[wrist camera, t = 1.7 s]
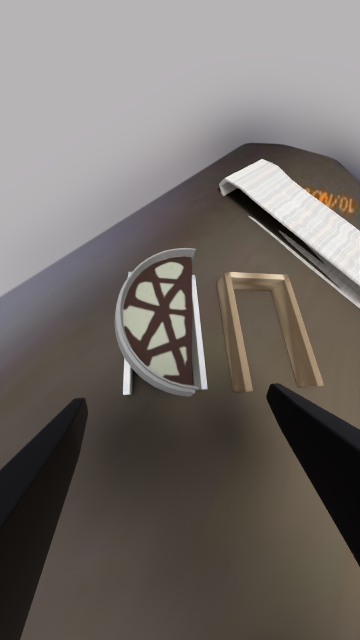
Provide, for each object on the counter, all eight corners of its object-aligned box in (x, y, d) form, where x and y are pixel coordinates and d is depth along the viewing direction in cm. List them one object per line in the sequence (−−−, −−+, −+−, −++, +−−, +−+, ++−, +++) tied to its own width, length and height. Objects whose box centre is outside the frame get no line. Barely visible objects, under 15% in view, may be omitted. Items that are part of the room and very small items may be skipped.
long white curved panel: (427, 335, 26) (222, 171, 32) (393, 342, 29) (215, 193, 36) (443, 287, 30) (261, 152, 37) (412, 298, 34) (251, 173, 40)
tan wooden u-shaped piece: (274, 286, 29) (287, 274, 26) (302, 386, 23) (323, 385, 21) (216, 284, 27) (224, 271, 24) (233, 391, 22) (245, 391, 19)
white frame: (189, 287, 26) (194, 274, 23) (199, 389, 21) (207, 389, 18) (130, 285, 25) (128, 272, 22) (126, 394, 20) (122, 394, 17)
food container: (132, 293, 24) (122, 233, 15) (177, 298, 25) (195, 243, 16) (118, 393, 20) (93, 395, 10) (175, 395, 21) (198, 397, 11)
